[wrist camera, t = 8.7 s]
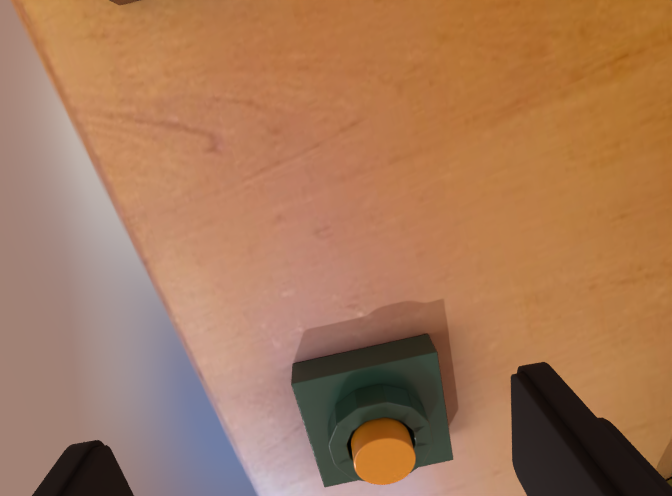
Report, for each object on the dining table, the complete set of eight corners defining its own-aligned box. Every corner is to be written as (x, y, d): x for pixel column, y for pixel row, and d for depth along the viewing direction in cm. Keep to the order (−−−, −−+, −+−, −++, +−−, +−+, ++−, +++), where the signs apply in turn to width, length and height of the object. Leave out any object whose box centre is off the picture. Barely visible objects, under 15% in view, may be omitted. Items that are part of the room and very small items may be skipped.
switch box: (323, 462, 32) (325, 511, 28) (292, 363, 28) (289, 403, 25) (444, 436, 32) (462, 481, 28) (428, 333, 28) (446, 369, 24)
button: (357, 467, 27) (360, 490, 26) (345, 424, 26) (347, 446, 24) (413, 455, 27) (420, 477, 26) (404, 411, 26) (411, 432, 24)
